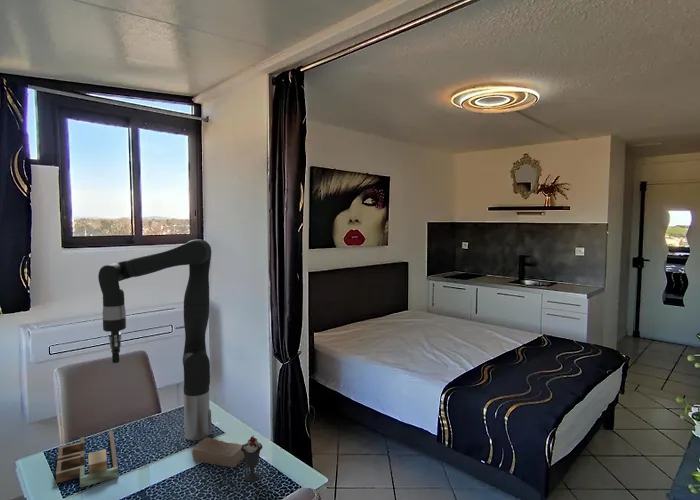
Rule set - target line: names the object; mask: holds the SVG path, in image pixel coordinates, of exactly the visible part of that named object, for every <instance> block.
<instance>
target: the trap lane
mask: <svg viewBox="0 0 700 500" xmlns="http://www.w3.org/2000/svg"><path fill="white" fill-rule="evenodd" d="M108 432H109V435H108V436H109V437H108V438H109V439H108V440H109V445H110V446H109V447H110V454H111V455H110V456H111V463H112V464H111V465H112V467H110V468H107V469H106V470H102V471H98V472H95V473H91V474H89V473H87V474H85V463H86V462H85V459H86V458H85V452H86V451H85V450H86V449H85V446H86V445H85V436H81V437H80V438H79V440H80V441H79V442H75V443H71V444H67V445H62V446H59V447H58V450H57V462H56V469H55V482H56V484H59V483H63V482H67V481H71V480H75V479H77V478H79V487H80V488H84V487H87V486H91V485H94V484H98V483H103V482H106V481H109V480H113V479H116V478H119V466H118V459H117V452H116V451H117V450H116V443H115V436H114V430H109V431H108Z"/></svg>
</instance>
